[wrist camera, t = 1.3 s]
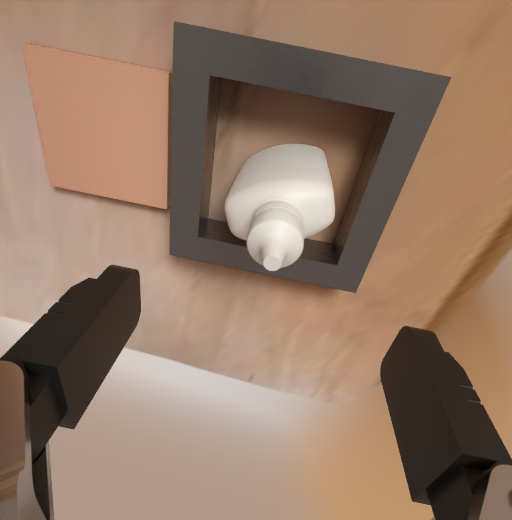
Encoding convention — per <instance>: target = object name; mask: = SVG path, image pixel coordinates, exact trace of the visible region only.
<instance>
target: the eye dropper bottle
mask: <svg viewBox="0 0 512 520" xmlns="http://www.w3.org/2000/svg"><path fill="white" fill-rule="evenodd" d="M225 214H226V218H227V222H228V225H229V228H230V231H231V232H232V234H233V235H235V236H236V237H238V238H241V239H243V240H246V241H247V242H246V244H247V245H246V246H247V249H248V252H249V254H250V256H252V258H253V259H254V260H255V261H256V262H258V263H259V264H260V265H263V266H264V267H265V268H266V269H267V270H269V271H276V270H278V269H279V268H283V267H286V266H289V265H291V264H293V263H294V262H295V261H296V260H297V259H298V258H299V257H300V256H301V254H302V251H303V249H304V248H303V246H304V239H306V238H308V237H310V236H313V235H315V234H317V233H318V232H320V231H322V230H324V229H325V228H326V227H328V226H329V225H330V224H331V223H332V222H333V221H334V217H335V202H334V191H333V186H332V181H331V177H330V173H329V169H328V165H327V161H326V157H325V154H324V152H323V150H321V149H320V148H318V147H315V146H311V145H306V144H282V145H277V146H273V147H270V148H267V149H264V150H262V151H260V152H258V153H256V154H254V155H253V156H251V157H250V158H248V159H247V160H246V161H245V162H244V164H243V165H242V167H241V169H240V171H239V173H238V175H237V177H236V179H235V181H234V183H233V185H232V187H231V189H230V191H229V193H228V195H227V198H226V200H225Z"/></svg>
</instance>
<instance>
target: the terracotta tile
mask: <svg viewBox="0 0 512 520" xmlns="http://www.w3.org/2000/svg"><path fill="white" fill-rule="evenodd" d="M21 44H22V49H23V54H24V59H25V64H26V69H27V74H28V79H29V84H30V89H31V94H32V98H33V103H34V108H35V113H36V118H37V123H38V128H39V133H40V138H41V143H42V148H43V153H44V158H45V163H46V168H47V172H48V177H49V182H50V186H55V187H60V188H65V189H69V190H74V191H79V192H84V193H89V194H94V195H99V196H104V197H109V198H114V199H119V200H123V201H128V202H133V203H138V204H143V205H148V206H153V207H158V208H163V209H168V208H169V206H170V205H171V151H172V96H173V72H170V71H165V70H160V69H155V68H150V67H145V66H140V65H135V64H130V63H125V62H120V61H115V60H110V59H105V58H100V57H95V56H90V55H86V54H81V53H76V52H71V51H66V50H61V49H56V48H51V47H46V46H41V45H36V44H31V43H21Z"/></svg>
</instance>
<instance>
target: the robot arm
mask: <svg viewBox="0 0 512 520" xmlns="http://www.w3.org/2000/svg"><path fill="white" fill-rule="evenodd" d="M140 312H141V298H140V275H139V271H138V270H136V269H131V268H126V267H122V266H117V265H110V266H109V267H107V269H106V270H105V271H104V272H103V273H102V274H101V275H100V276H99V277H98V278H97V279H93V278H88V279H86V280H84V281H82V282H80V283H78V284H76V285H74V286H72V287H71V288H70V289H69V290H68V291H67V292H66V293H65V294H64V295H63V296H62V297H61V298H60V299H59V302H58V303H57V302H56V303H55V304H54V305H53V306H52V307H51V308H50V309H49V310H48V313H47V314H46V313H45V314H44V315H43V316H42V317H41V318H40V319H39V320H38V321H37V322H36V323H35V324H34V325H33V326H32V327H31V328H30V329H29V330H28V332H26V333H25V334H24V335H23V336H22V337H21V338H20V339H19V340H18V341H17V342H16V343H15V344H14V345H13V346H12V347H11V348H10V349H9V350H8V351H7V352H6V353H5V354H4V355H3V356H2V357H1V358H0V520H54V510H53V495H52V481H51V466H50V453H49V443H48V441H49V439H50V438H51V436H52V435H53V433H54V432H55V430H56V428H57V427H58V426H61V427H65V428H70V429H74V428H75V427H76V425H77V423H78V422H79V420H80V418H81V417H82V415H83V413H84V412H85V410H86V409H87V407H88V405H89V404H90V402H91V400H92V399H93V397H94V395H95V394H96V392H97V390H98V389H99V387H100V385H101V384H102V382H103V380H104V379H105V377H106V376H107V374H108V372H109V371H110V369H111V367H112V366H113V364H114V362H115V361H116V359H117V357H118V355H119V354H120V352H121V351H122V349H123V347H124V346H125V344H126V343H127V341H128V339H129V338H130V336H131V334H132V333H133V331H134V329H135V328H136V326H137V323H138V320H139V317H140ZM380 375H381V382H382V385H383V389H384V393H385V397H386V401H387V404H388V409H389V413H390V416H391V421H392V424H393V428H394V432H395V436H396V440H397V444H398V448H399V452H400V455H401V460H402V463H403V467H404V471H405V475H406V479H407V483H408V486H409V491H410V495H411V499H412V501H413V502H418V503H423V504H427V505H431V507H432V510H433V513H434V517H433V518H432V519H431V520H512V459H511V457H510V455H509V453H508V451H507V450H506V448H505V446H504V444H503V442H502V440H501V438H500V436H499V435H498V433H497V431H496V429H495V427H494V425H493V423H492V421H491V419H490V418H489V416H488V414H487V412H486V410H485V408H484V406H483V405H481V404H480V399H479V397H478V395H477V393H476V391H475V390H473V389H472V387H473V386H472V384H471V382H470V380H469V378H468V376H467V374H466V372H465V371H464V369H463V368H462V367H461V366H460V364H459V363H458V362H457V361H456V360H455V359H454V358H453V357H452V356H451V355H450V354H449V353H448V352H444V350H443V348H442V347H441V344H440V342H439V340H438V338H437V336H436V335H435V333H434V332H432V331H429V330H424V329H419V328H414V327H409V326H404V327H402V328H401V330H400V331H399V333H398V335H397V336H396V338H395V340H394V341H393V343H392V345H391V346H390V348H389V350H388V352H387V353H386V355H385V357H384V358H383V361H382V364H381V371H380Z"/></svg>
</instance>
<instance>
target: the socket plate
mask: <svg viewBox="0 0 512 520" xmlns="http://www.w3.org/2000/svg"><path fill="white" fill-rule="evenodd" d="M221 78H226V79H231V80H236V81H241V82H246V83H251V84H255V85H260V86H265V87H270V88H275V89H280V90H285V91H290V92H295V93H300V94H305V95H310V96H315V97H320V98H325V99H330V100H335V101H339V102H344V103H349V104H354V105H359V106H364V107H369V108H374V109H379V110H381V111H380V114H379V117H378V120H377V122H376V125H375V128H374V131H373V134H372V137H371V139H370V142H369V145H368V148H367V151H366V153H365V156H364V159H363V162H362V165H361V168H360V170H359V173H358V176H357V179H356V182H355V185H354V187H353V190H352V193H351V196H350V199H349V201H348V204H347V207H346V210H345V213H344V216H343V218H342V221H341V224H340V227H339V230H338V233H337V235H336V238H335V241H334V244H330V243H325V242H320V241H315V240H310V239H304V246H303V248H304V249H303V251H302V254H301V256H300V257H299V258H298V259H297V260H296V261H295V262H294V263H293V264H291V265H289V266H286V267H283V268H279V269H278V270H276V271H269V270H267V269H266V268H265V267H264V266H263V265H260V264H259V263H258V262H256V261H255V260H254V259H253V258H252V256H250V254H249V252H248V249H247V246H246V245H247V244H246V242H247V241H246V240H243V239H241V238H238V237H236V236H235V235H233V234H232V232H231V231H230V228H229V225H228V223H227V222H222V221H217V220H212V219H208V214H209V203H210V192H211V181H212V170H213V159H214V148H215V137H216V127H217V116H218V105H219V94H220V83H221ZM450 79H451V77H447V76H442V75H437V74H432V73H427V72H422V71H417V70H412V69H407V68H402V67H397V66H392V65H388V64H383V63H378V62H373V61H368V60H363V59H358V58H353V57H348V56H343V55H338V54H333V53H328V52H323V51H318V50H313V49H308V48H303V47H298V46H293V45H288V44H283V43H278V42H274V41H269V40H264V39H259V38H254V37H249V36H244V35H239V34H234V33H229V32H224V31H219V30H214V29H209V28H204V27H199V26H194V25H189V24H184V23H179V22H174V42H173V96H172V151H171V205H170V255H173V256H178V257H183V258H187V259H192V260H197V261H202V262H207V263H212V264H217V265H222V266H227V267H231V268H236V269H241V270H246V271H251V272H256V273H261V274H266V275H271V276H276V277H280V278H285V279H290V280H295V281H300V282H305V283H310V284H315V285H320V286H324V287H329V288H334V289H339V290H344V291H349V292H354V293H356V291H357V288H358V286H359V284H360V282H361V279H362V277H363V275H364V273H365V270H366V268H367V266H368V264H369V261H370V259H371V257H372V255H373V252H374V250H375V248H376V246H377V243H378V241H379V239H380V237H381V234H382V232H383V230H384V228H385V225H386V223H387V221H388V219H389V216H390V214H391V212H392V210H393V207H394V205H395V203H396V201H397V198H398V196H399V194H400V192H401V189H402V187H403V185H404V182H405V180H406V178H407V176H408V173H409V171H410V169H411V167H412V164H413V162H414V160H415V158H416V155H417V153H418V151H419V149H420V146H421V144H422V142H423V140H424V137H425V135H426V133H427V131H428V128H429V126H430V124H431V122H432V119H433V117H434V115H435V113H436V110H437V108H438V106H439V104H440V101H441V99H442V97H443V95H444V92H445V90H446V88H447V86H448V83H449V81H450Z"/></svg>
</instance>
